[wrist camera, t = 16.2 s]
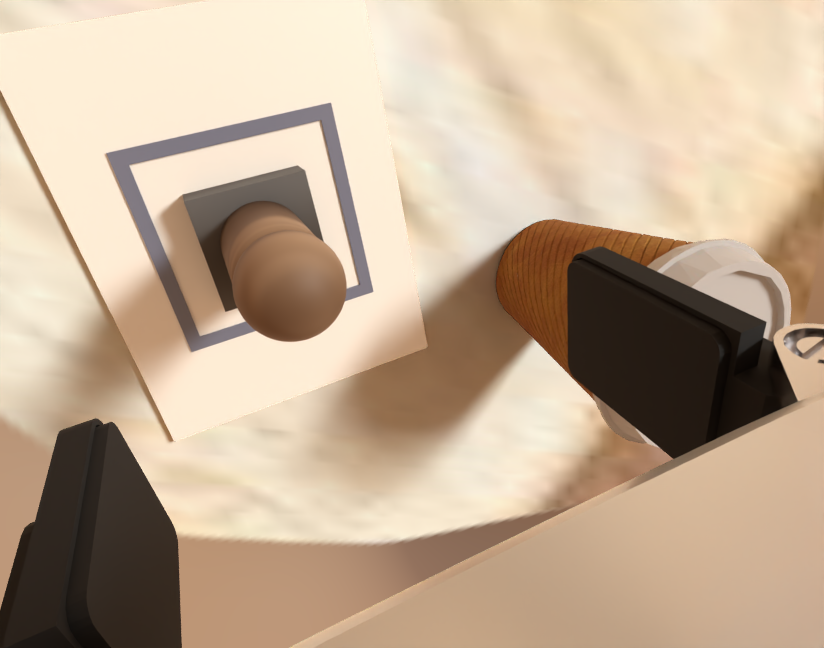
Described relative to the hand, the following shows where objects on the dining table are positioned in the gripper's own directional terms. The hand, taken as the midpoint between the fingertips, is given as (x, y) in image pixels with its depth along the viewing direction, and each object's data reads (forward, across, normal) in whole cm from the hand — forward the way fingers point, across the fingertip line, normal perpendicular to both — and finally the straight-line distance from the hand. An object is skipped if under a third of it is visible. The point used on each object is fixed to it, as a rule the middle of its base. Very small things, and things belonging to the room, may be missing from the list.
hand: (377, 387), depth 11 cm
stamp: (+16, 0, +2) cm, 16 cm away
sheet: (+16, 0, +1) cm, 16 cm away
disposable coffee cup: (+16, -14, +8) cm, 23 cm away
